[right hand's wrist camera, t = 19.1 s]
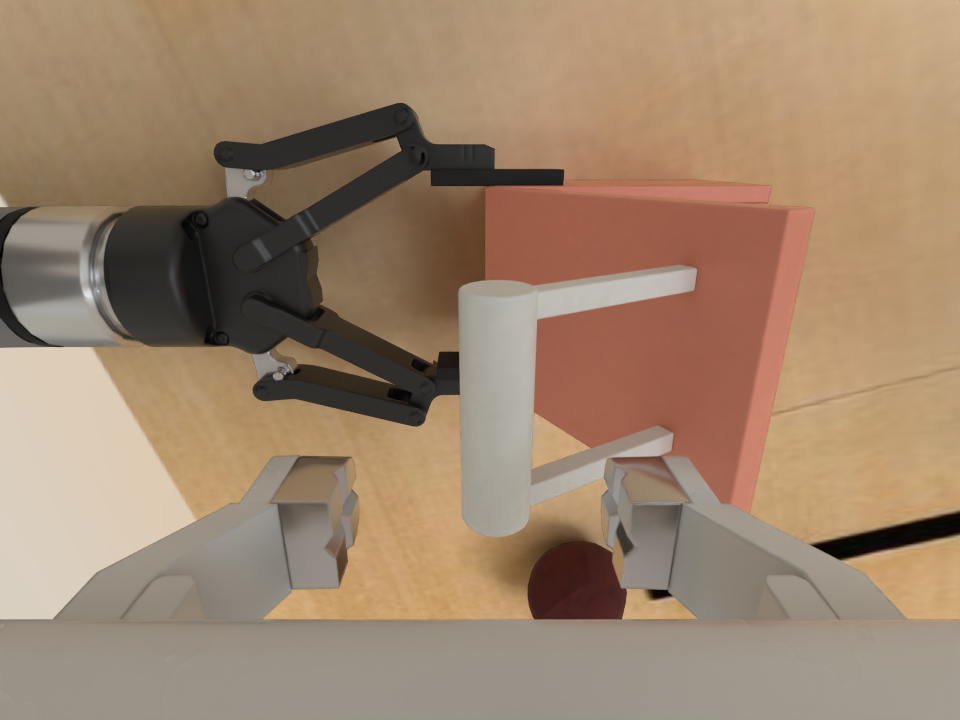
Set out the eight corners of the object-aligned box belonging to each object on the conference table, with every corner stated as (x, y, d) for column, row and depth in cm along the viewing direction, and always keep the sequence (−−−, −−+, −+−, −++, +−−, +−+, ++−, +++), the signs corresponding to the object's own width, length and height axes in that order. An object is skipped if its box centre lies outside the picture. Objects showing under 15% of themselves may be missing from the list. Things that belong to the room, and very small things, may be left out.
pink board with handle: (817, 207, 13) (537, 230, 9) (749, 522, 17) (522, 646, 12) (506, 186, 25) (316, 192, 20) (503, 376, 28) (340, 415, 24)
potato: (505, 560, 44) (511, 631, 37) (575, 504, 42) (595, 569, 35) (564, 608, 45) (580, 684, 39) (634, 557, 44) (663, 627, 37)
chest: (699, 179, 33) (772, 185, 25) (679, 326, 37) (737, 372, 29) (489, 180, 33) (494, 186, 25) (489, 327, 37) (493, 374, 28)
